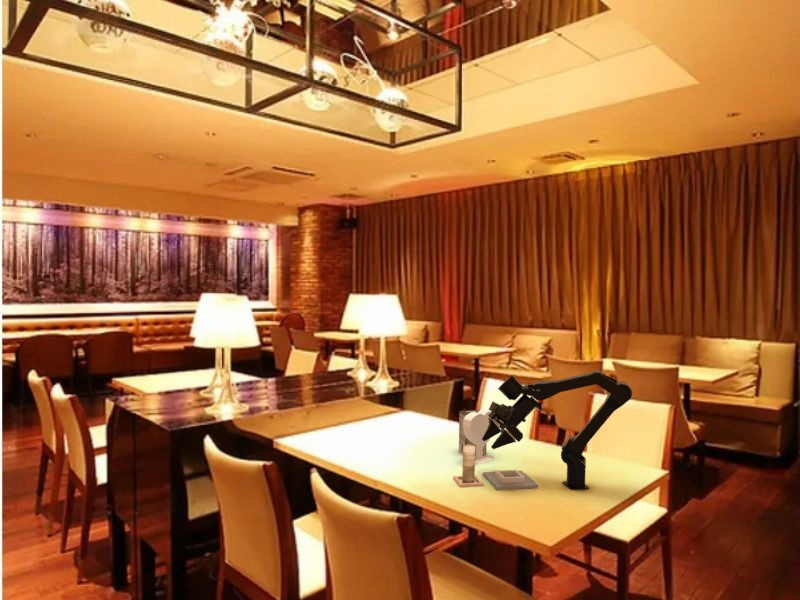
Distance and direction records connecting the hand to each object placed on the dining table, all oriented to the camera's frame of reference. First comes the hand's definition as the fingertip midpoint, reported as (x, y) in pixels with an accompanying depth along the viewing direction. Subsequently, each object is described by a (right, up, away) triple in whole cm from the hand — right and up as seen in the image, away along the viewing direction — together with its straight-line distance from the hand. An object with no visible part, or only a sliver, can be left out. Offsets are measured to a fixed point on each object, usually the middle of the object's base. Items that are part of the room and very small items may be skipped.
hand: (487, 444), depth 190 cm
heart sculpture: (0, -12, +23) cm, 26 cm away
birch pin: (-6, -12, -1) cm, 14 cm away
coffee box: (-1, -12, +31) cm, 33 cm away
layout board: (+8, -13, +1) cm, 15 cm away
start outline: (-6, -12, -1) cm, 14 cm away
